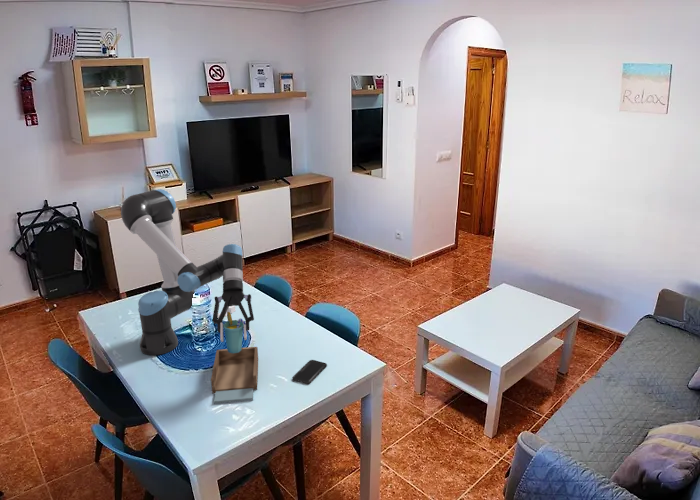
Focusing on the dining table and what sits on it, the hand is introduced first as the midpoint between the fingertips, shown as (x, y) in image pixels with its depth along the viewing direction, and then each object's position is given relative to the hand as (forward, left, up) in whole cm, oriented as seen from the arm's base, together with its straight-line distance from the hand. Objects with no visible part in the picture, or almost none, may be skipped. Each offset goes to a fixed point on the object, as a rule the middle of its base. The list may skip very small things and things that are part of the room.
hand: (233, 339), depth 186 cm
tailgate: (0, -7, -18) cm, 19 cm away
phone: (+27, +2, -18) cm, 33 cm away
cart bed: (-1, +4, -18) cm, 18 cm away
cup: (0, +3, -7) cm, 7 cm away
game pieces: (-9, +58, -18) cm, 61 cm away
